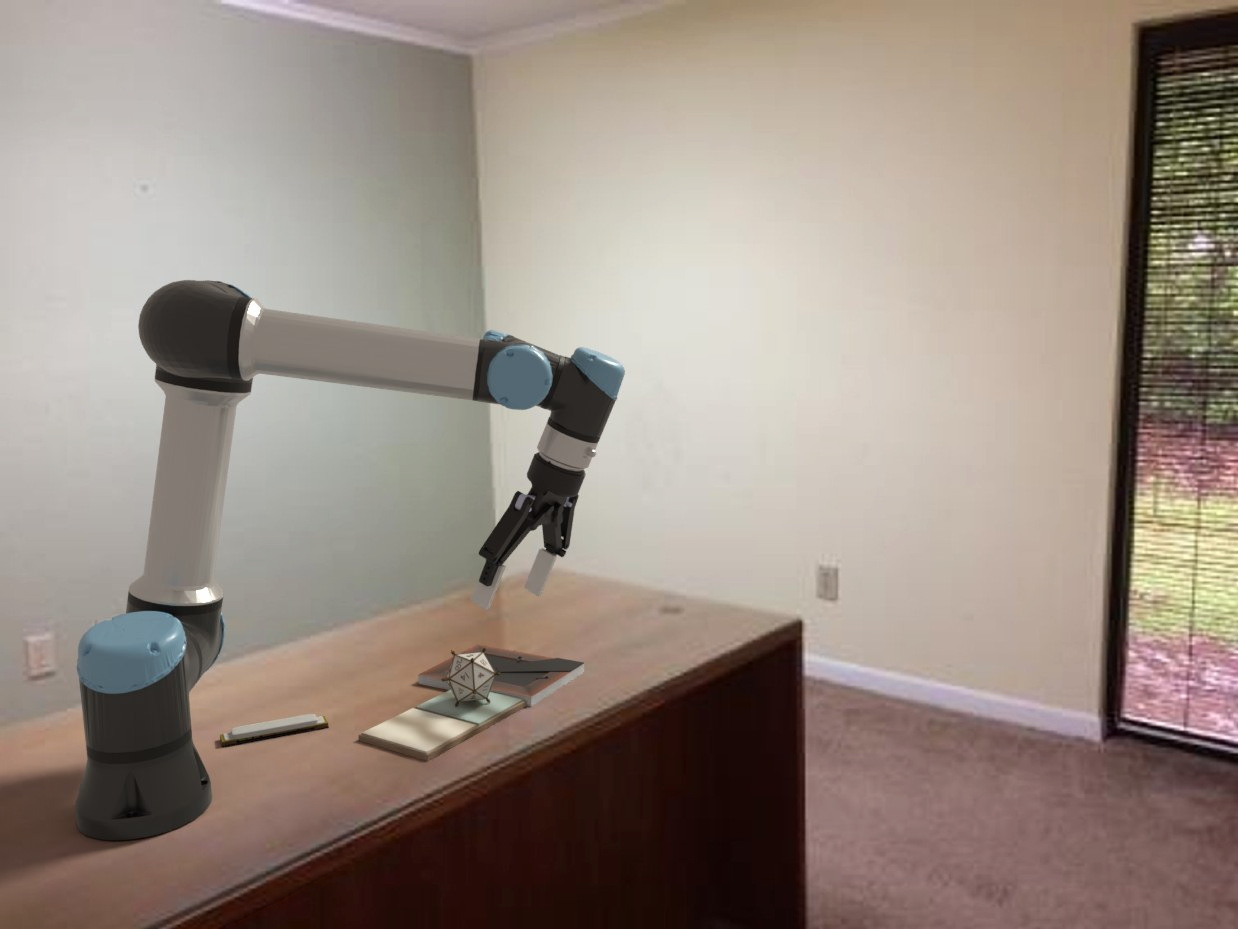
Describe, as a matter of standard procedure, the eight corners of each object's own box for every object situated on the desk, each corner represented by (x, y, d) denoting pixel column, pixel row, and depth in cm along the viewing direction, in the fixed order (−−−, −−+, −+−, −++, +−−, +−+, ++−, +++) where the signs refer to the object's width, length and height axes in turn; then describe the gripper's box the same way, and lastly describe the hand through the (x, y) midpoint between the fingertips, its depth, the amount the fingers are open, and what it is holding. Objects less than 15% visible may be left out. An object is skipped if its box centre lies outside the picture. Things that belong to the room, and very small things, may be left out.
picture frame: (584, 676, 172) (477, 656, 182) (584, 662, 172) (477, 643, 182) (531, 711, 158) (418, 688, 168) (530, 695, 158) (418, 673, 168)
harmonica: (222, 750, 144) (221, 737, 144) (220, 742, 147) (219, 729, 147) (329, 731, 151) (328, 718, 150) (324, 723, 153) (324, 710, 153)
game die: (479, 729, 156) (483, 693, 149) (429, 705, 158) (431, 668, 151) (506, 684, 162) (512, 647, 155) (458, 661, 164) (462, 624, 157)
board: (427, 761, 140) (427, 753, 139) (358, 740, 146) (358, 732, 146) (525, 706, 158) (525, 699, 158) (460, 690, 165) (460, 683, 165)
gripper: (535, 475, 128) (477, 625, 132) (624, 470, 150) (571, 598, 155) (489, 449, 131) (433, 597, 135) (583, 448, 153) (532, 575, 158)
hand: (507, 598), depth 145 cm, fingers open, 13 cm apart
